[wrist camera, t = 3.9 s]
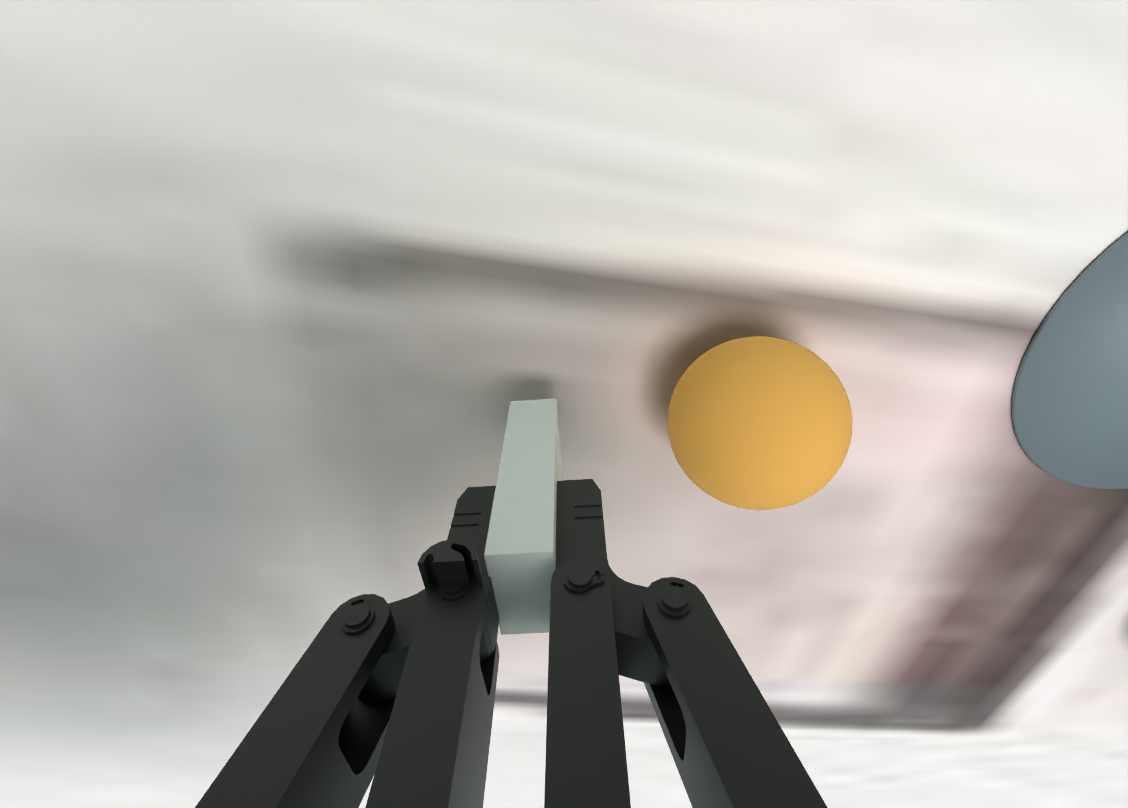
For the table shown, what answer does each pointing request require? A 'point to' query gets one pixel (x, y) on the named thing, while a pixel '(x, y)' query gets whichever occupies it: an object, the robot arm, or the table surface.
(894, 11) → the table surface
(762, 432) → the ball
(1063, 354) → the disc
